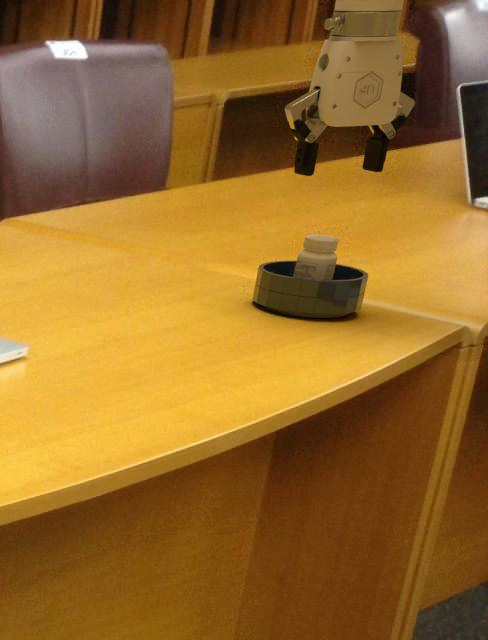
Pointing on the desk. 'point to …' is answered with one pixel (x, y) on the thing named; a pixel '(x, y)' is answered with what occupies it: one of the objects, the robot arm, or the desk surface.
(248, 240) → the desk surface
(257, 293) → the bowl
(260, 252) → the desk surface
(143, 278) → the desk surface
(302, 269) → the pill bottle
